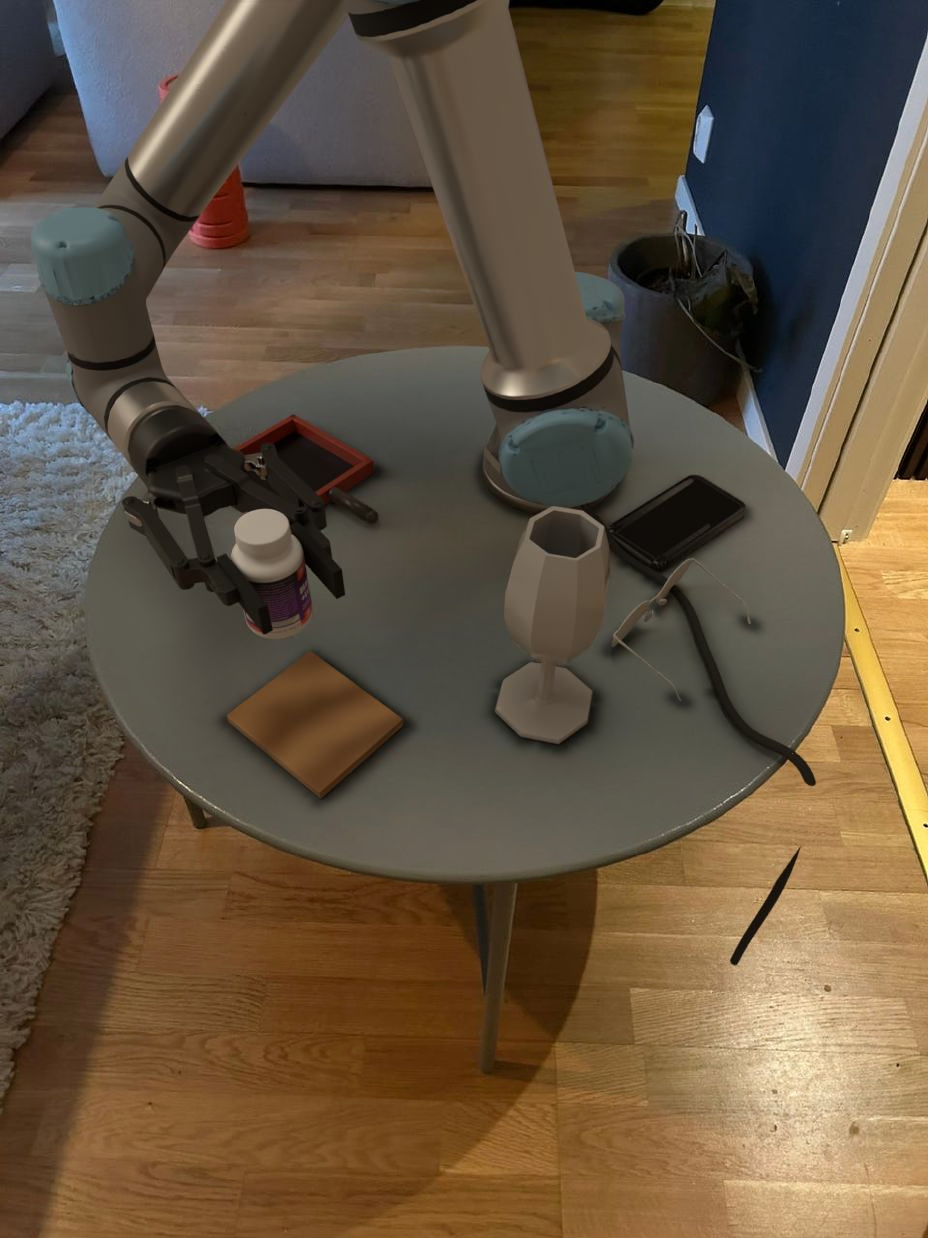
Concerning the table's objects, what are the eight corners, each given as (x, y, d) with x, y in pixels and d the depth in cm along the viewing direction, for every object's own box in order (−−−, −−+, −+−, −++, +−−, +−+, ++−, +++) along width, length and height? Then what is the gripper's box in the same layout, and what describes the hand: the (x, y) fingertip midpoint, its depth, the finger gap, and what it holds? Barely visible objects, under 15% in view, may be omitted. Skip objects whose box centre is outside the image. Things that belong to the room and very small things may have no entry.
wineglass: (563, 761, 78) (591, 590, 63) (477, 717, 81) (483, 544, 66) (608, 693, 83) (643, 520, 68) (525, 654, 86) (541, 480, 71)
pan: (420, 499, 101) (419, 483, 100) (331, 562, 94) (329, 546, 93) (295, 426, 111) (292, 410, 109) (205, 478, 104) (201, 463, 102)
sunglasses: (679, 580, 93) (696, 549, 89) (748, 629, 90) (768, 599, 86) (601, 657, 86) (615, 627, 82) (672, 713, 83) (690, 684, 79)
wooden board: (403, 725, 80) (403, 718, 80) (320, 799, 75) (319, 793, 75) (311, 657, 86) (310, 650, 85) (228, 721, 81) (226, 715, 80)
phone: (604, 528, 97) (694, 471, 103) (602, 536, 97) (692, 479, 104) (660, 568, 93) (751, 506, 99) (658, 575, 93) (748, 514, 100)
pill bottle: (321, 629, 72) (307, 539, 65) (255, 649, 71) (233, 559, 64) (302, 585, 76) (286, 494, 69) (238, 603, 74) (216, 512, 67)
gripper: (271, 442, 85) (410, 585, 72) (78, 518, 77) (196, 692, 65) (258, 372, 79) (406, 513, 67) (50, 446, 72) (172, 622, 59)
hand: (302, 601), depth 66 cm, fingers closed on pill bottle, 5 cm apart
